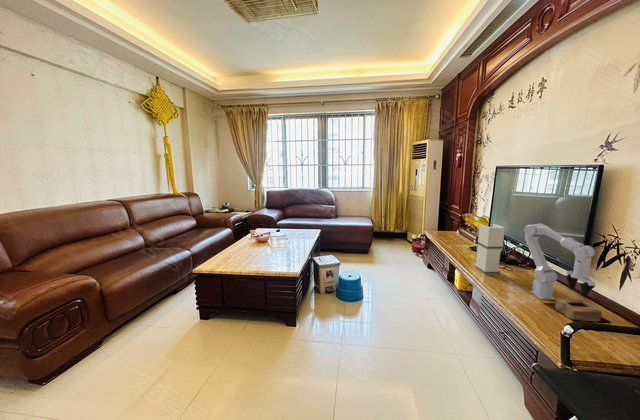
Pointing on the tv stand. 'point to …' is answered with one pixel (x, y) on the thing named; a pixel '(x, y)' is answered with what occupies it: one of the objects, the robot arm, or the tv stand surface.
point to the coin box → (577, 309)
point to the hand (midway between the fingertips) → (577, 292)
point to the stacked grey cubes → (489, 249)
